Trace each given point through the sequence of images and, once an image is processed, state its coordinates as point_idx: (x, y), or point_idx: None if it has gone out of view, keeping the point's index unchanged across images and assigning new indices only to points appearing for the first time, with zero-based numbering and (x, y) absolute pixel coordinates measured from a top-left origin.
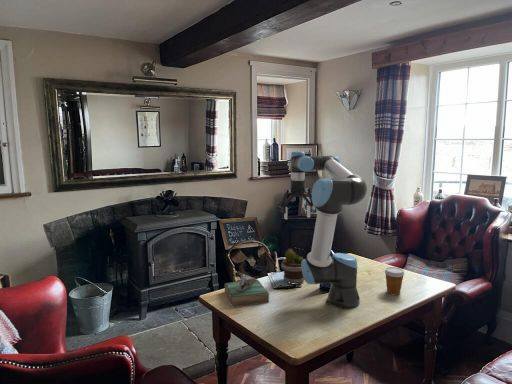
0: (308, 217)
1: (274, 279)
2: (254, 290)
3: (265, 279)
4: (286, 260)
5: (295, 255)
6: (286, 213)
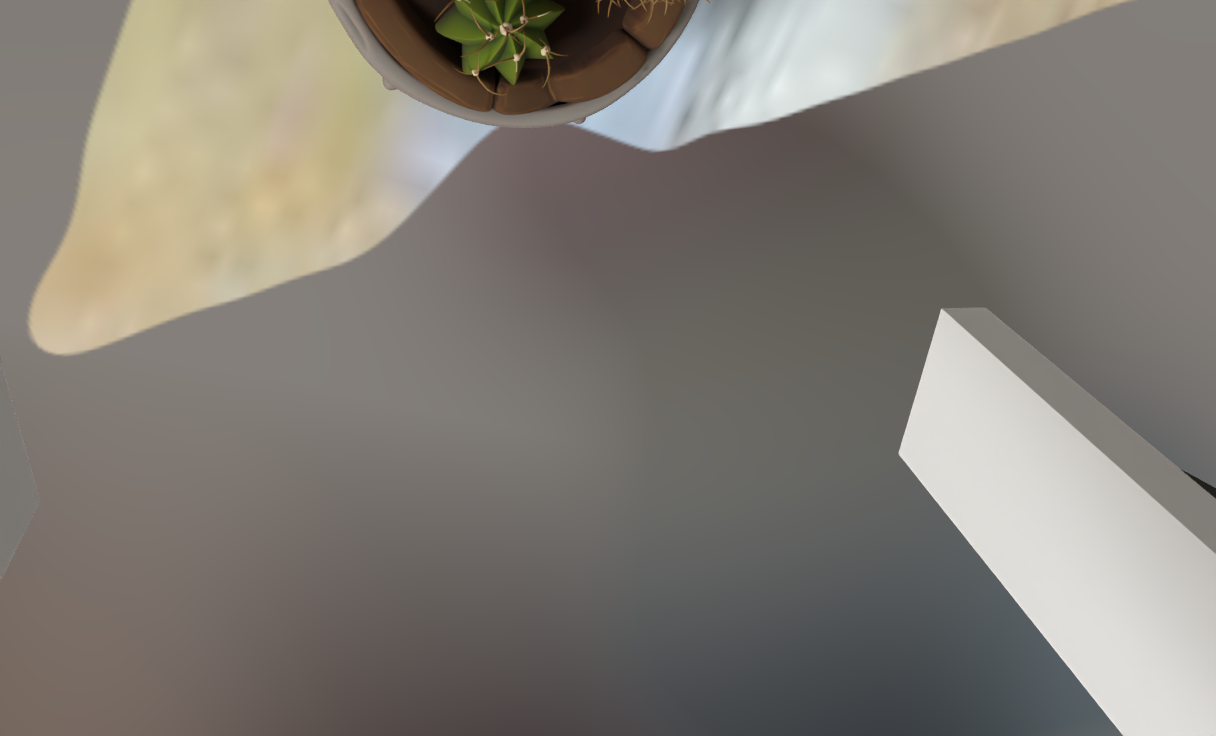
0: (2, 368)
1: (685, 42)
2: None
3: (771, 77)
4: (611, 40)
5: (484, 17)
6: (1114, 426)
